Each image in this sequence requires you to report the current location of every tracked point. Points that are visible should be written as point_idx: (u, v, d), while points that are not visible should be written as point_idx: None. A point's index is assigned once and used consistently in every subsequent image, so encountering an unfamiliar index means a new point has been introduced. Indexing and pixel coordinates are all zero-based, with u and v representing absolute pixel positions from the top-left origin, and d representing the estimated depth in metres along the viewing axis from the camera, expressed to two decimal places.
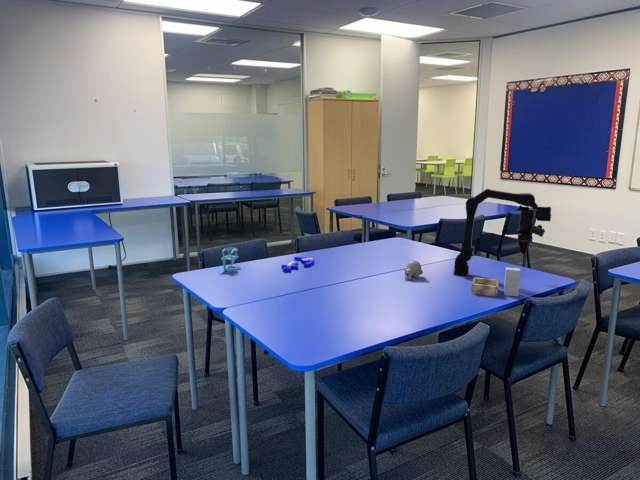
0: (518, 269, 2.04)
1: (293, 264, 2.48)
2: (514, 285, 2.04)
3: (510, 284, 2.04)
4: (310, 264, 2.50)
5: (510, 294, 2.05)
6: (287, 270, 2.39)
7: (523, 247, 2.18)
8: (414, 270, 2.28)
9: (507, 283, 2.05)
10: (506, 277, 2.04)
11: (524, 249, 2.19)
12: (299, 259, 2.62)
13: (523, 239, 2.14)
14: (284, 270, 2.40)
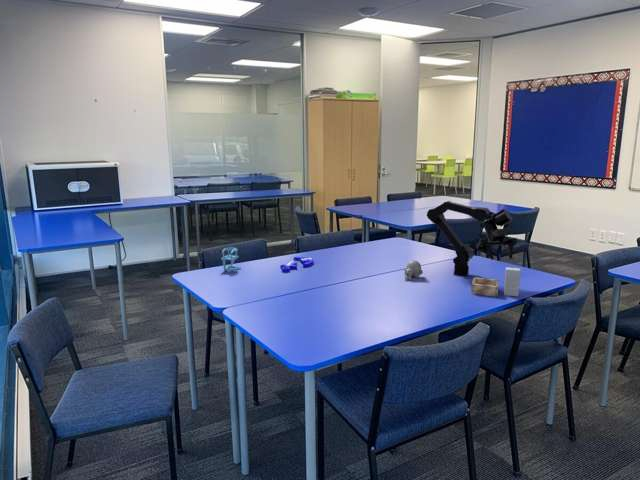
0: (518, 269, 2.04)
1: (292, 264, 2.48)
2: (514, 285, 2.04)
3: (510, 284, 2.04)
4: (309, 264, 2.50)
5: (510, 294, 2.05)
6: (286, 270, 2.39)
7: (488, 253, 2.15)
8: (414, 270, 2.28)
9: (507, 283, 2.05)
10: (506, 277, 2.04)
11: (489, 254, 2.14)
12: (298, 259, 2.62)
13: (477, 246, 2.18)
14: (283, 270, 2.40)
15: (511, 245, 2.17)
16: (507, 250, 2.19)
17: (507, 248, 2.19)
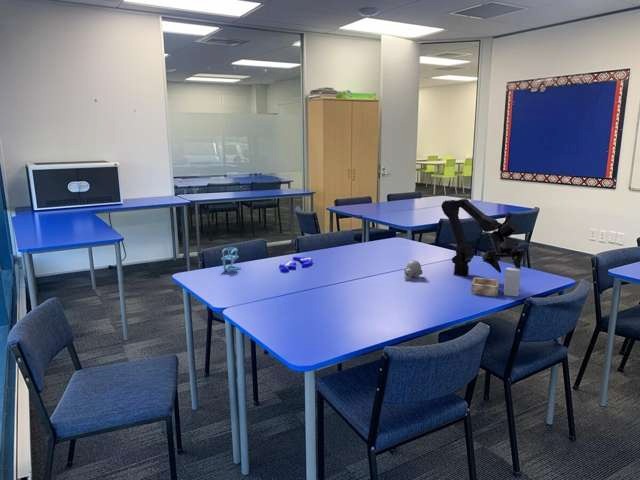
0: (518, 269, 2.04)
1: (291, 264, 2.48)
2: (514, 285, 2.04)
3: (510, 284, 2.04)
4: (308, 264, 2.50)
5: (510, 294, 2.05)
6: (284, 270, 2.39)
7: (495, 266, 2.09)
8: (413, 270, 2.28)
9: (507, 283, 2.05)
10: (506, 277, 2.04)
11: (497, 267, 2.08)
12: (298, 259, 2.62)
13: (484, 258, 2.11)
14: (281, 270, 2.40)
15: (519, 257, 2.10)
16: (515, 262, 2.12)
17: (515, 260, 2.12)
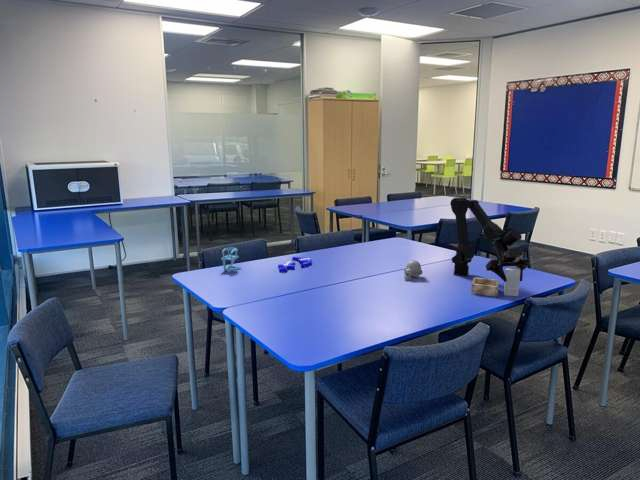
0: (518, 269, 2.04)
1: (290, 264, 2.48)
2: (514, 285, 2.04)
3: (510, 284, 2.04)
4: (307, 264, 2.50)
5: (510, 294, 2.05)
6: (283, 270, 2.40)
7: (501, 275, 2.06)
8: (413, 270, 2.28)
9: (507, 283, 2.05)
10: (506, 277, 2.04)
11: (502, 276, 2.05)
12: (297, 259, 2.62)
13: (488, 267, 2.08)
14: (280, 270, 2.40)
15: (521, 267, 2.06)
16: None
17: None
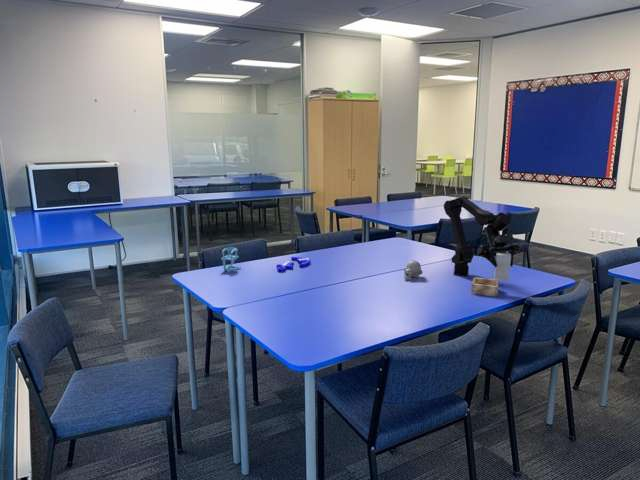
0: (509, 254, 2.04)
1: (288, 264, 2.48)
2: (505, 270, 2.05)
3: (501, 269, 2.05)
4: (306, 264, 2.50)
5: (500, 279, 2.06)
6: (281, 270, 2.40)
7: (491, 260, 2.06)
8: (413, 270, 2.28)
9: (497, 268, 2.05)
10: (497, 262, 2.05)
11: (493, 261, 2.05)
12: (296, 259, 2.62)
13: (478, 252, 2.08)
14: (278, 270, 2.40)
15: (512, 252, 2.07)
16: None
17: None
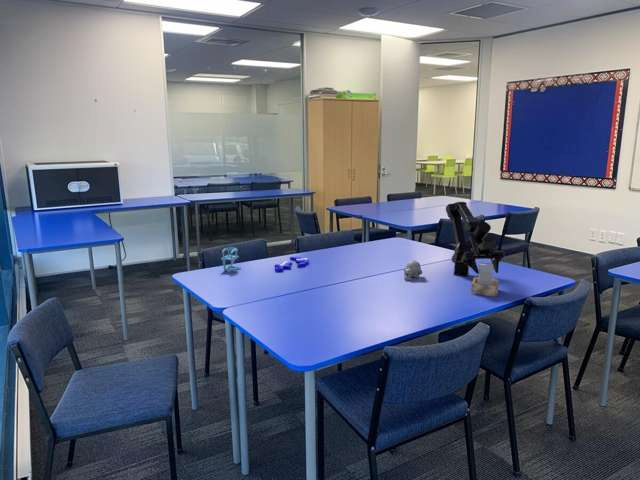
0: (491, 264, 2.08)
1: (286, 264, 2.48)
2: (487, 280, 2.08)
3: (484, 279, 2.08)
4: (304, 264, 2.50)
5: None
6: (279, 270, 2.40)
7: (473, 267, 2.09)
8: (413, 270, 2.28)
9: (480, 278, 2.09)
10: (480, 272, 2.08)
11: (475, 268, 2.08)
12: (294, 259, 2.62)
13: (463, 259, 2.12)
14: (276, 270, 2.40)
15: (497, 259, 2.10)
16: (493, 264, 2.12)
17: (493, 262, 2.12)
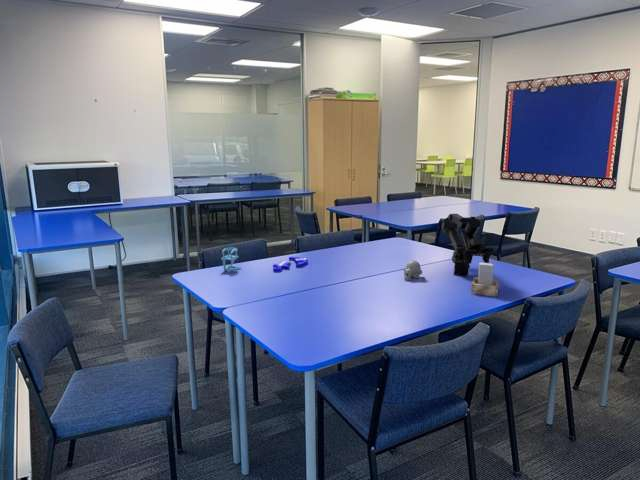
0: (491, 264, 2.08)
1: (285, 264, 2.48)
2: (487, 280, 2.08)
3: (484, 279, 2.08)
4: (302, 264, 2.50)
5: None
6: (277, 270, 2.40)
7: (464, 262, 2.18)
8: (413, 270, 2.28)
9: (480, 278, 2.09)
10: (480, 272, 2.08)
11: (466, 263, 2.17)
12: (293, 259, 2.62)
13: (454, 254, 2.20)
14: (274, 270, 2.40)
15: (488, 254, 2.19)
16: (484, 259, 2.21)
17: (484, 257, 2.21)
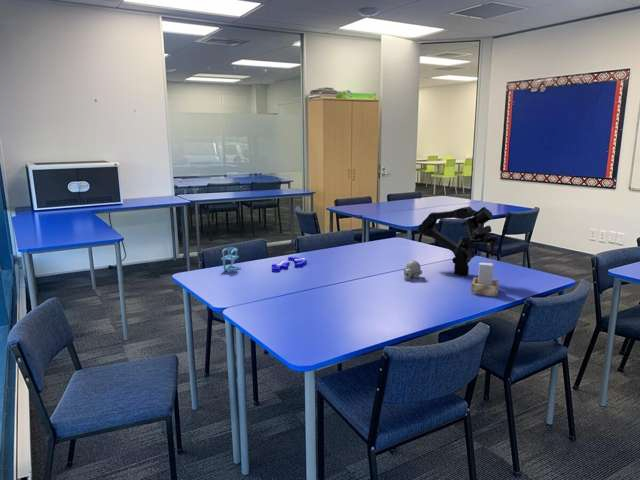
0: (491, 264, 2.08)
1: (283, 264, 2.48)
2: (487, 280, 2.08)
3: (484, 279, 2.08)
4: (301, 264, 2.50)
5: None
6: (276, 270, 2.40)
7: (469, 251, 2.20)
8: (413, 270, 2.28)
9: (480, 278, 2.09)
10: (480, 272, 2.08)
11: (471, 252, 2.19)
12: (292, 259, 2.62)
13: (459, 243, 2.22)
14: (273, 270, 2.40)
15: (492, 243, 2.21)
16: (488, 248, 2.23)
17: (488, 246, 2.23)
